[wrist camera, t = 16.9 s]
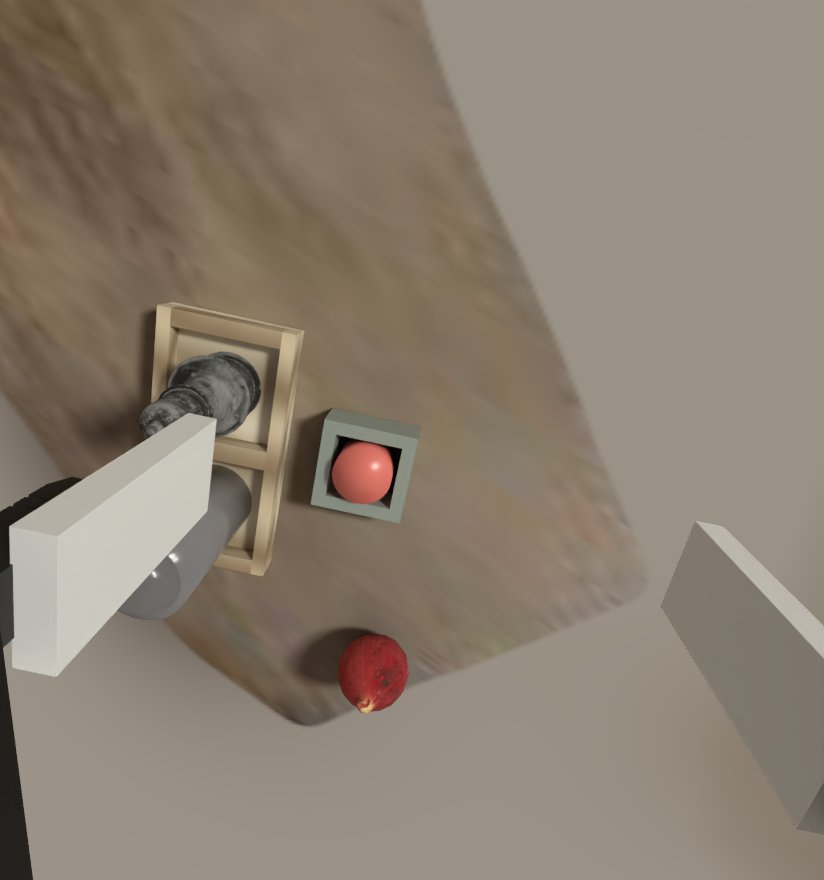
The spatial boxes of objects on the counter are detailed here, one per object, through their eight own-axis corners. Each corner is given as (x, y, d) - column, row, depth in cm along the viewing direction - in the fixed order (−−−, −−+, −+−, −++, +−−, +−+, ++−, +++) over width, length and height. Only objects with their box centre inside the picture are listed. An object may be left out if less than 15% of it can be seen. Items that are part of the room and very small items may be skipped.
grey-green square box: (332, 408, 45) (324, 419, 42) (420, 427, 45) (418, 439, 42) (318, 489, 47) (310, 504, 44) (402, 506, 47) (399, 523, 44)
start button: (344, 430, 44) (337, 442, 42) (399, 442, 44) (396, 455, 42) (334, 481, 46) (327, 497, 43) (388, 493, 46) (385, 509, 43)
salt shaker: (262, 429, 44) (198, 490, 33) (187, 416, 44) (97, 473, 33) (268, 354, 43) (202, 392, 31) (190, 341, 43) (96, 373, 31)
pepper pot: (181, 456, 46) (75, 539, 32) (255, 472, 46) (180, 561, 33) (176, 523, 47) (74, 626, 34) (247, 538, 48) (172, 647, 34)
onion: (386, 603, 50) (376, 667, 42) (423, 650, 51) (419, 720, 44) (333, 633, 51) (314, 700, 44) (370, 678, 53) (358, 751, 45)
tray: (173, 302, 43) (157, 305, 40) (304, 330, 43) (296, 334, 41) (156, 536, 49) (141, 551, 47) (271, 560, 49) (262, 576, 47)
